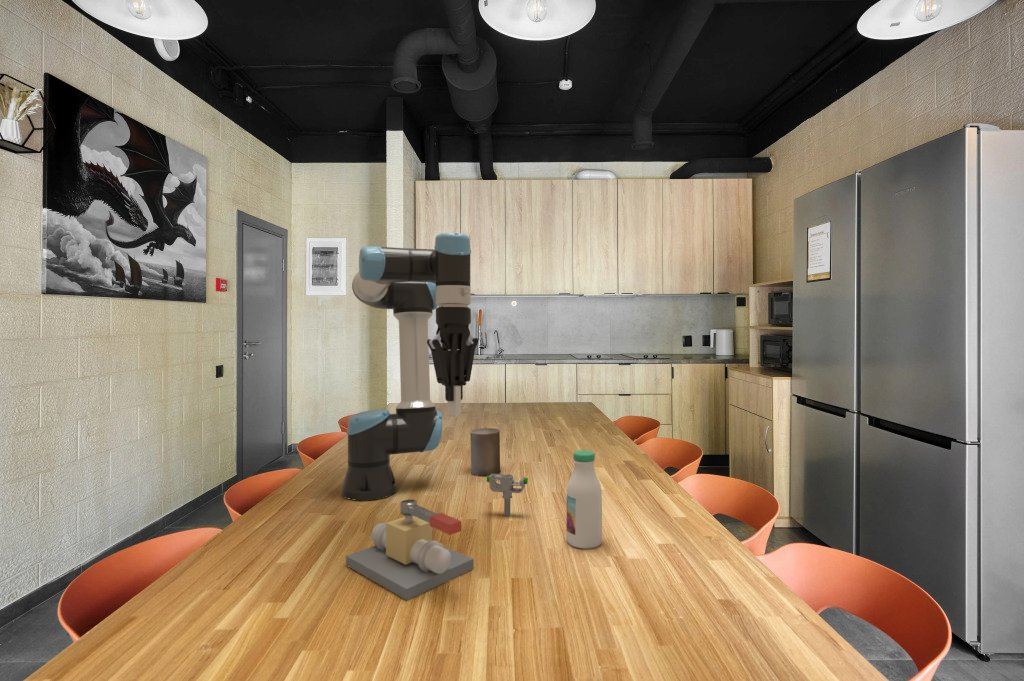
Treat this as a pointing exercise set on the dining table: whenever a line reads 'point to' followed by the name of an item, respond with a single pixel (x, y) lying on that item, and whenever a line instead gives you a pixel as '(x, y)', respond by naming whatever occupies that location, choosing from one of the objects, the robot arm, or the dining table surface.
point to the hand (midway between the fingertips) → (454, 415)
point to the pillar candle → (485, 451)
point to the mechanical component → (506, 487)
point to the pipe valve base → (408, 558)
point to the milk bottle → (584, 503)
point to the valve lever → (431, 517)
